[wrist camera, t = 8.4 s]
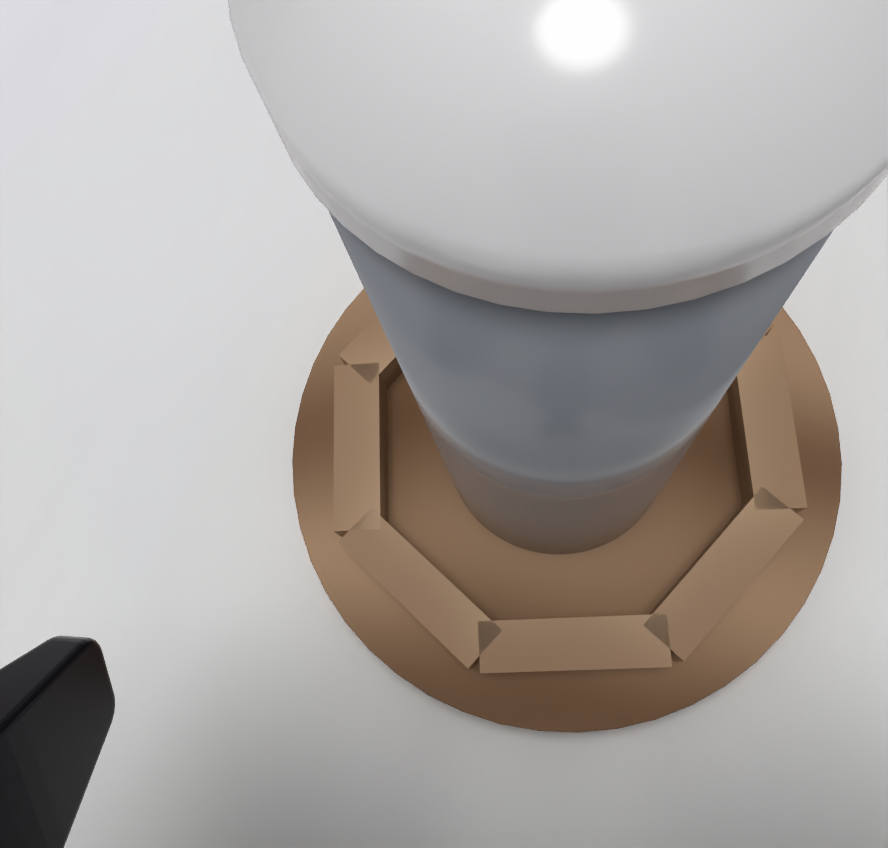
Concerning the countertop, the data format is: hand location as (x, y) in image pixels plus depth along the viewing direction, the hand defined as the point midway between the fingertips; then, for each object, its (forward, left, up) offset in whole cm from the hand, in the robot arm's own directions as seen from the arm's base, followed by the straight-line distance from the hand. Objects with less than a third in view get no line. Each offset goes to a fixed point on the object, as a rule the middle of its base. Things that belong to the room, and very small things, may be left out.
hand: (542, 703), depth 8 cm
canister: (+5, -1, -10) cm, 11 cm away
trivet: (+5, -1, -11) cm, 12 cm away
